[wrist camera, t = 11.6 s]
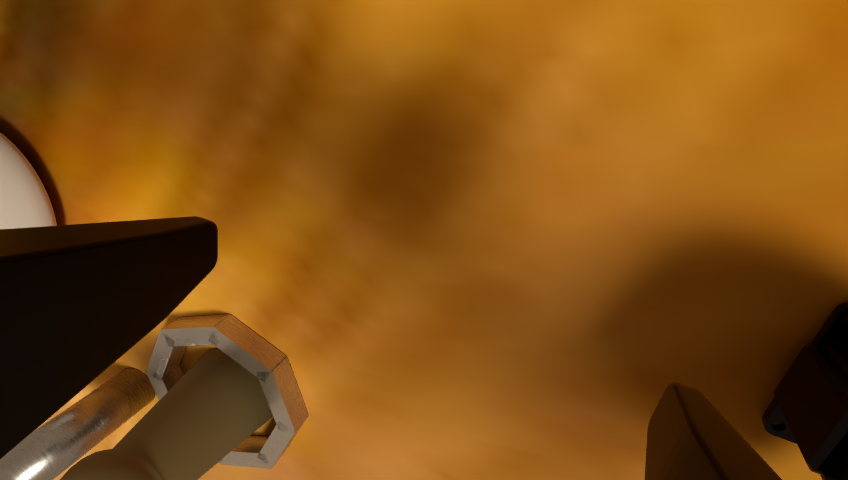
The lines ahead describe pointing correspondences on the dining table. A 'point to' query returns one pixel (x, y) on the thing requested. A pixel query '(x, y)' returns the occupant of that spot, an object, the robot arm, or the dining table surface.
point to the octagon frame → (131, 391)
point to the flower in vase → (21, 191)
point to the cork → (185, 426)
